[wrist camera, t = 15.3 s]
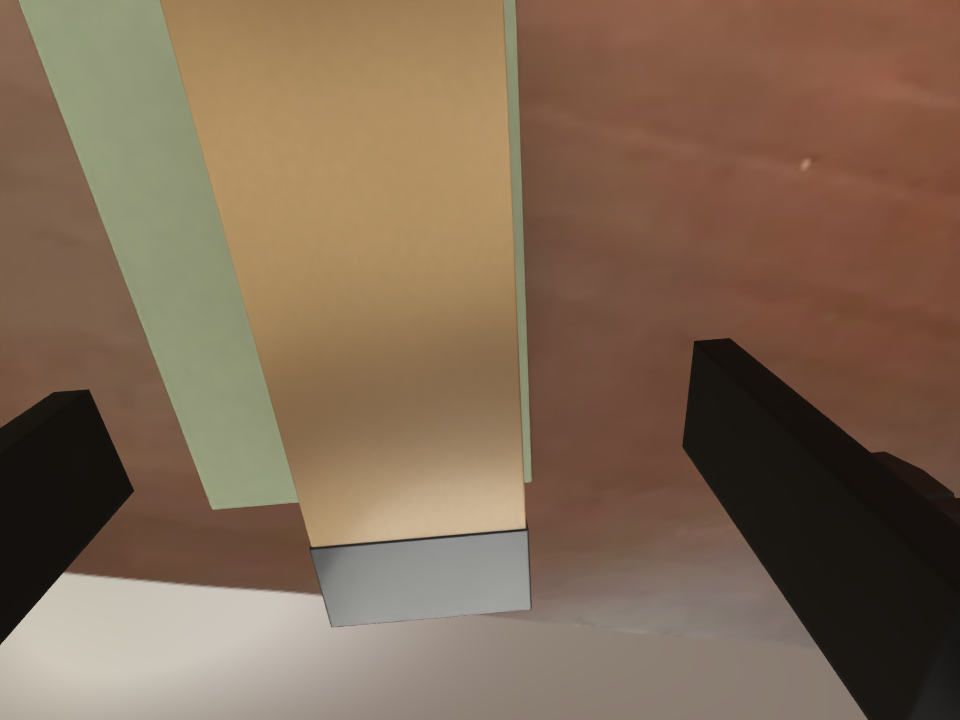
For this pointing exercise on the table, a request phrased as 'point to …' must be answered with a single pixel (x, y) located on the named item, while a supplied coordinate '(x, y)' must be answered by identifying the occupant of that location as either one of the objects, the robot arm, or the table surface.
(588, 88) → the table surface
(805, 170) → the table surface
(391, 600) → the beech block
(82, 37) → the envelope
